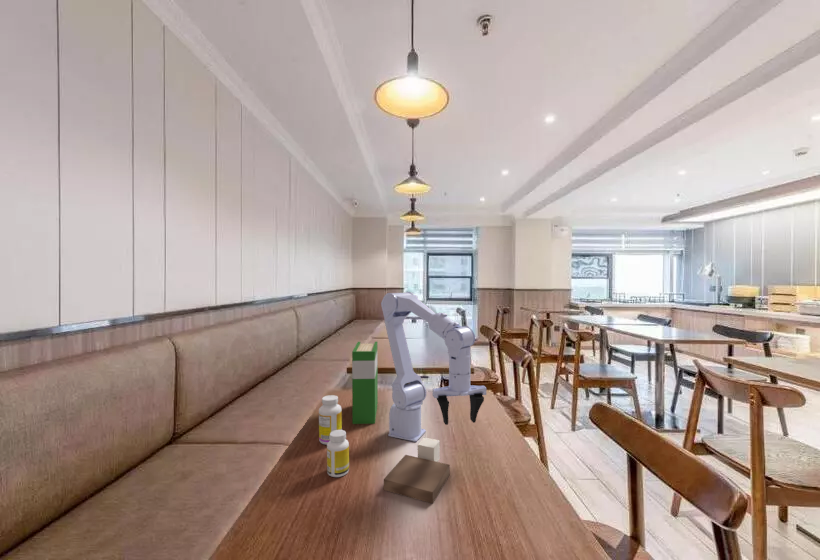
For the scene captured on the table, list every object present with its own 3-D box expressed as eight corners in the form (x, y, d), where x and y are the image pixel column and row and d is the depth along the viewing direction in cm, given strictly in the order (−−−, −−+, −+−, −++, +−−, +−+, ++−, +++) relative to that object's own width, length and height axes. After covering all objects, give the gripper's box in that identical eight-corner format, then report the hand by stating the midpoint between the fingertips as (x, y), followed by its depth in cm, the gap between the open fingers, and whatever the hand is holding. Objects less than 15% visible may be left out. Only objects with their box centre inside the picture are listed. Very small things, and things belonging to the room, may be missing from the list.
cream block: (417, 463, 92) (417, 444, 92) (424, 455, 96) (424, 437, 96) (433, 467, 90) (433, 448, 90) (439, 458, 94) (439, 440, 94)
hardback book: (358, 404, 134) (357, 341, 134) (377, 404, 134) (377, 341, 134) (352, 424, 116) (352, 351, 116) (374, 423, 117) (374, 351, 116)
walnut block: (383, 489, 81) (383, 479, 81) (405, 464, 92) (405, 454, 92) (432, 503, 76) (432, 492, 76) (449, 474, 87) (449, 464, 87)
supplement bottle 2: (352, 468, 90) (352, 430, 90) (342, 479, 85) (341, 439, 85) (334, 464, 92) (334, 427, 91) (322, 475, 86) (322, 436, 86)
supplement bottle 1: (338, 433, 109) (338, 392, 109) (344, 442, 103) (344, 399, 103) (316, 438, 106) (316, 395, 106) (321, 447, 100) (321, 403, 100)
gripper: (437, 377, 89) (437, 430, 90) (491, 374, 92) (490, 426, 92) (430, 370, 96) (430, 419, 97) (480, 367, 99) (480, 415, 99)
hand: (459, 422), depth 95 cm, fingers open, 7 cm apart
